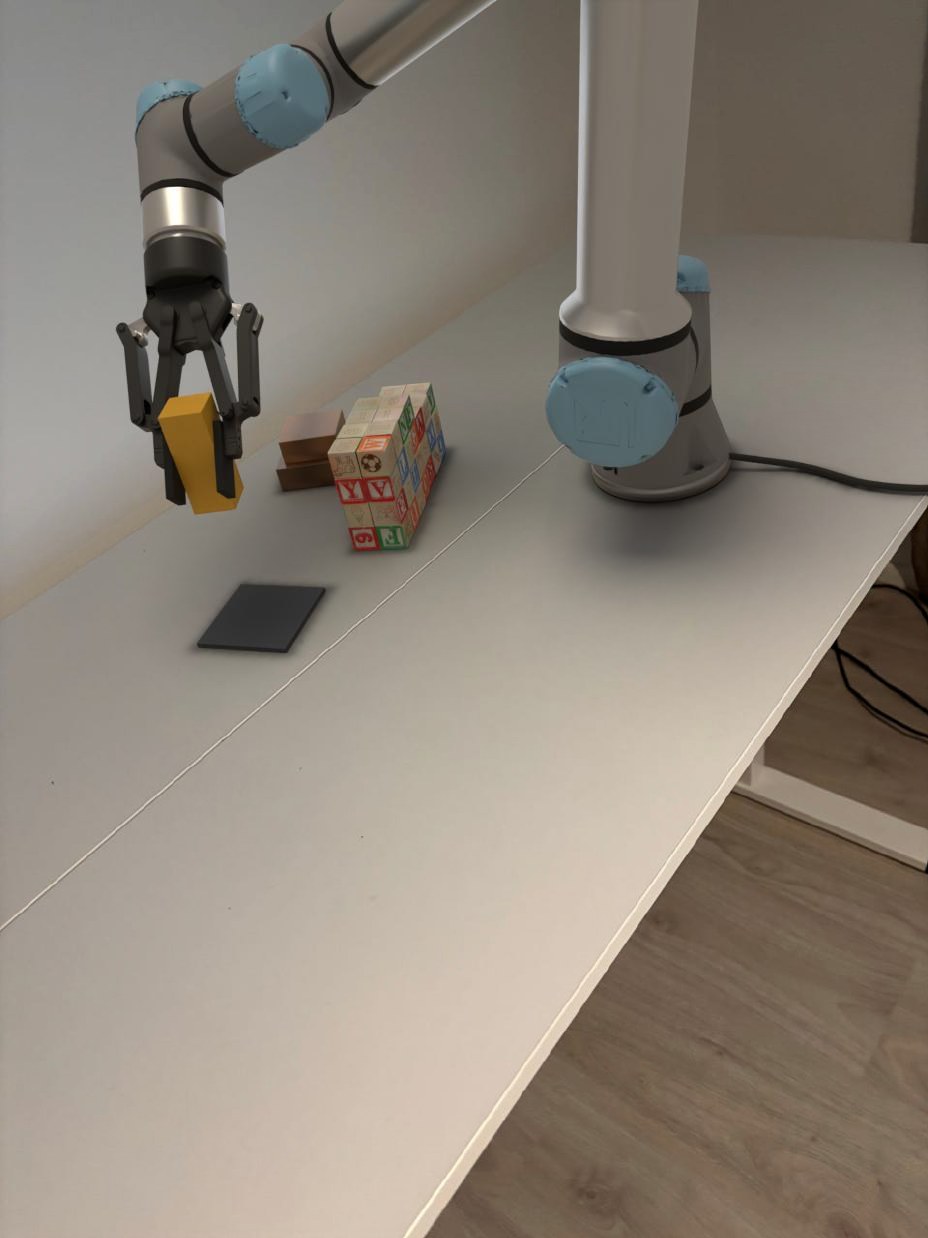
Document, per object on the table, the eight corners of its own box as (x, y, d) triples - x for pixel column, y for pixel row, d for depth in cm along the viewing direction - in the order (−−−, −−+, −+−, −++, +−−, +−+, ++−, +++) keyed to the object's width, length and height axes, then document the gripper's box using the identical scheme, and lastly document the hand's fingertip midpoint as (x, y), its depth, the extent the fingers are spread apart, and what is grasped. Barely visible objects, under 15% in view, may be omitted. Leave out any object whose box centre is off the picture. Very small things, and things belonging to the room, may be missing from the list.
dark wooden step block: (361, 445, 132) (350, 403, 128) (353, 481, 124) (342, 437, 121) (294, 455, 133) (281, 413, 129) (282, 491, 126) (268, 447, 122)
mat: (326, 590, 107) (324, 587, 106) (286, 652, 99) (285, 648, 99) (242, 587, 110) (240, 583, 110) (197, 647, 103) (196, 643, 102)
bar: (244, 487, 98) (211, 391, 92) (235, 509, 95) (201, 411, 89) (204, 493, 98) (168, 397, 92) (194, 515, 95) (157, 418, 89)
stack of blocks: (398, 453, 128) (377, 361, 121) (447, 450, 127) (428, 357, 119) (353, 551, 112) (325, 452, 104) (408, 549, 110) (383, 448, 103)
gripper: (286, 257, 98) (305, 496, 94) (117, 284, 100) (130, 519, 96) (260, 217, 90) (280, 474, 87) (78, 247, 92) (90, 500, 89)
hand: (201, 497), depth 92 cm, fingers closed on bar, 4 cm apart
